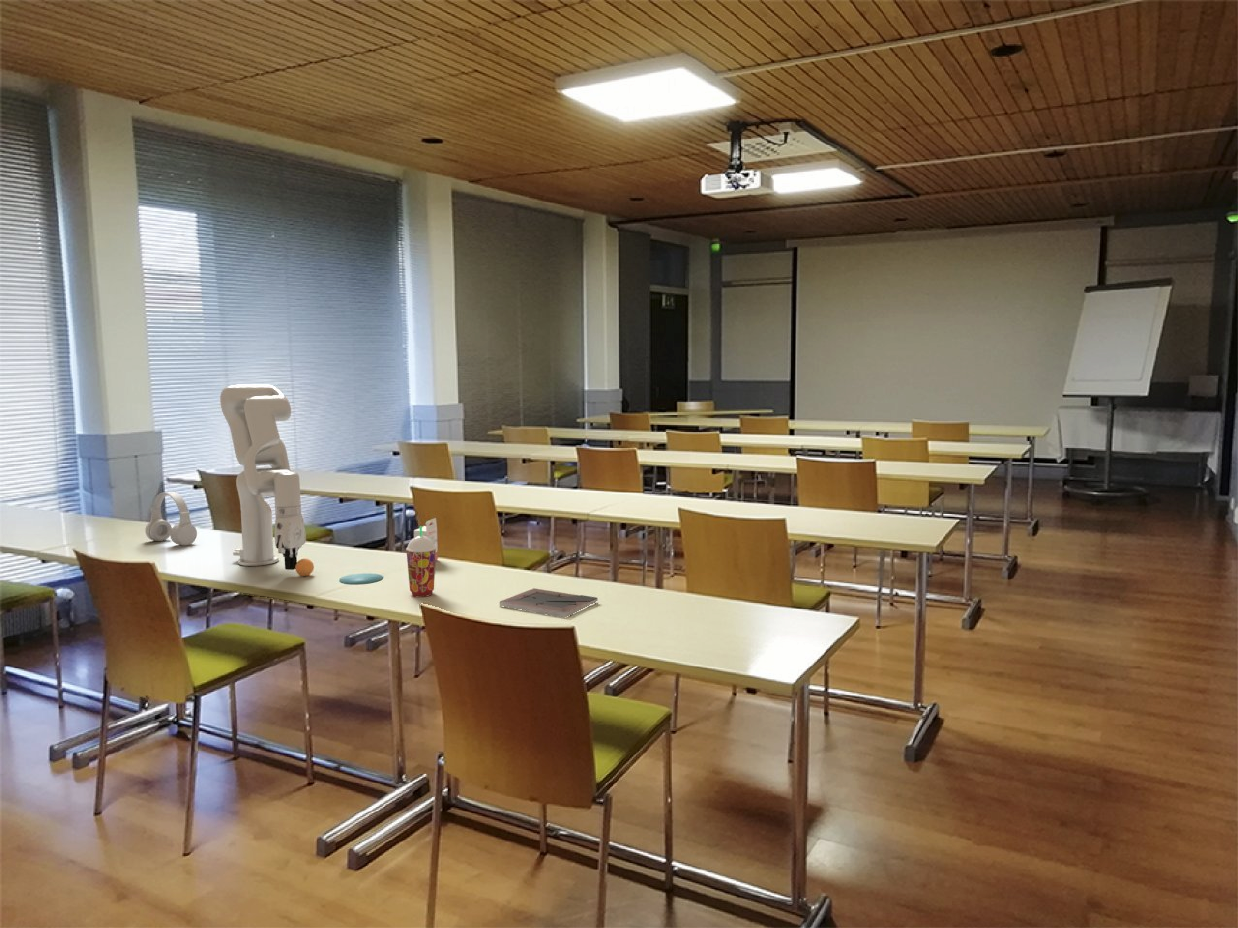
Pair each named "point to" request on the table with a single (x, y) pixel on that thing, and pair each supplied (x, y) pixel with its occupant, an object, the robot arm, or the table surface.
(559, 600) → the grey flat slab
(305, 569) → the ball
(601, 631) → the table surface
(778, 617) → the table surface
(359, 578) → the disc
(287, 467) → the robot arm
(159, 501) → the headphones
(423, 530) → the ink cartridge box
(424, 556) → the smoothie
